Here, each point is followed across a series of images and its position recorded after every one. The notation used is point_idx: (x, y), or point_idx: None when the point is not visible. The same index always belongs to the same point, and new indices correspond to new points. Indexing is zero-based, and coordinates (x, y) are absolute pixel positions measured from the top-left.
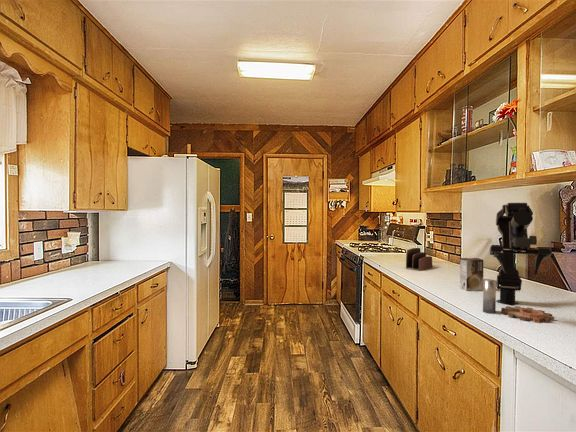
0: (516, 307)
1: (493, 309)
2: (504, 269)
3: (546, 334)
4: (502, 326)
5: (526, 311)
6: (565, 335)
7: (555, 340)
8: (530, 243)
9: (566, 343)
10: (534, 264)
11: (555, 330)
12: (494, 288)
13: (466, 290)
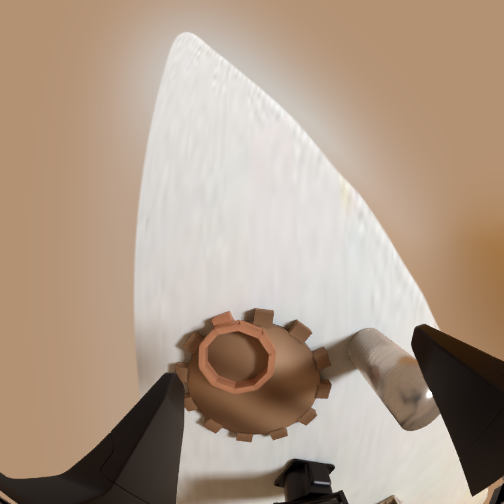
0: (283, 425)
1: (359, 340)
2: (440, 334)
3: (197, 188)
4: (321, 190)
5: (253, 381)
6: (150, 215)
7: (179, 146)
8: None
9: (157, 140)
10: (166, 491)
11: (171, 252)
12: (391, 380)
13: (393, 495)
